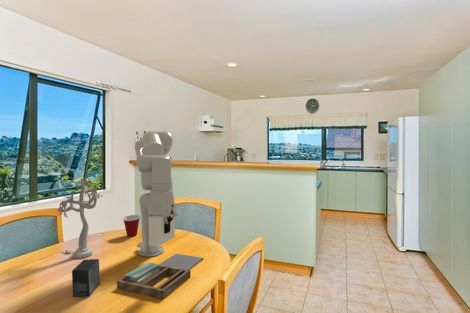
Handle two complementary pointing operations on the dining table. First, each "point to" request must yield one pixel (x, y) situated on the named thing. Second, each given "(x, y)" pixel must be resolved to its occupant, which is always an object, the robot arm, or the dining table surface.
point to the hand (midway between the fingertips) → (162, 231)
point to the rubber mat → (182, 261)
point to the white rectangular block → (159, 230)
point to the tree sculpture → (83, 249)
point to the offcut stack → (143, 273)
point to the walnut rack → (162, 289)
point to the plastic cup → (131, 224)
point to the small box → (85, 278)
